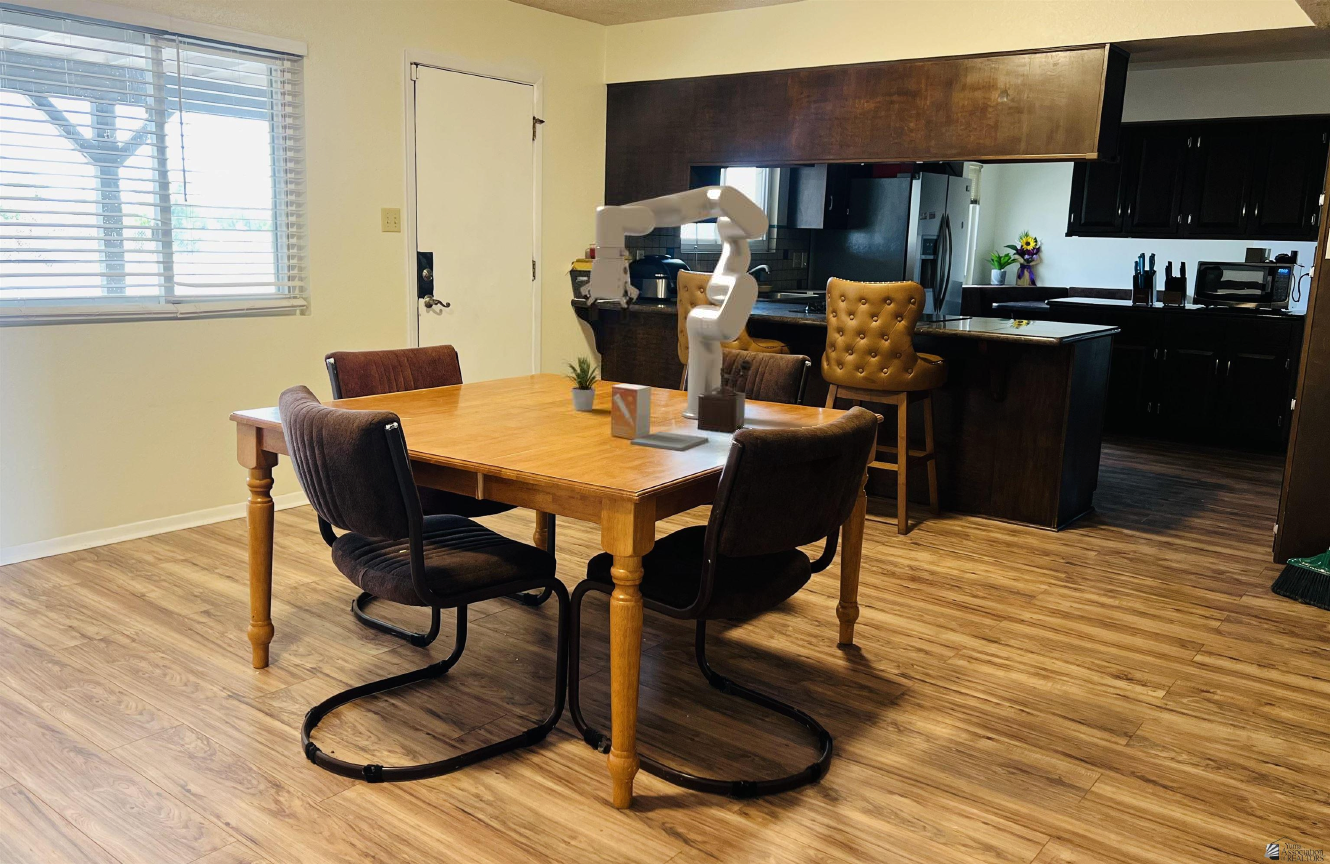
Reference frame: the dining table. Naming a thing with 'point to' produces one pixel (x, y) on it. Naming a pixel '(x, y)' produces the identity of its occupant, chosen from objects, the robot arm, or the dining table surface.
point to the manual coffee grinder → (723, 404)
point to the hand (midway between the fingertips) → (608, 321)
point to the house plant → (583, 385)
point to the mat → (669, 441)
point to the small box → (630, 411)
